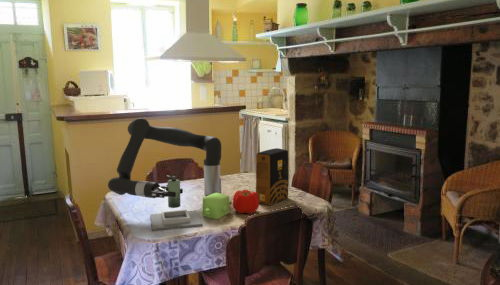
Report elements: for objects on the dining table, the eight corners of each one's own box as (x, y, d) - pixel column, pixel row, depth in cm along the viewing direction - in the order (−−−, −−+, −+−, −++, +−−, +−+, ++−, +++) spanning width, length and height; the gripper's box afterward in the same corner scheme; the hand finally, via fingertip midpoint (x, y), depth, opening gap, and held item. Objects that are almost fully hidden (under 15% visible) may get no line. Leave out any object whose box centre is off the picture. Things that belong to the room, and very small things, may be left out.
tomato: (228, 210, 204) (227, 190, 202) (251, 206, 210) (250, 186, 209) (240, 218, 192) (240, 196, 190) (264, 213, 198) (264, 192, 197)
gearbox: (213, 223, 186) (213, 204, 185) (196, 219, 192) (196, 200, 190) (235, 212, 201) (235, 194, 199) (219, 208, 206) (219, 190, 205)
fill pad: (195, 212, 201) (195, 206, 201) (202, 225, 182) (202, 219, 182) (150, 216, 195) (150, 210, 195) (152, 231, 176) (152, 224, 176)
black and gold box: (290, 197, 225) (290, 148, 220) (270, 206, 210) (270, 153, 205) (274, 194, 231) (274, 146, 227) (253, 202, 216) (253, 151, 212)
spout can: (179, 203, 191) (179, 173, 189) (181, 207, 186) (180, 175, 183) (166, 204, 189) (165, 173, 187) (167, 208, 184) (166, 176, 182)
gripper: (138, 185, 184) (170, 188, 179) (155, 178, 198) (186, 181, 192) (138, 201, 185) (171, 205, 180) (156, 193, 199) (186, 196, 193)
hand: (178, 192), depth 186 cm, fingers closed on spout can, 5 cm apart
